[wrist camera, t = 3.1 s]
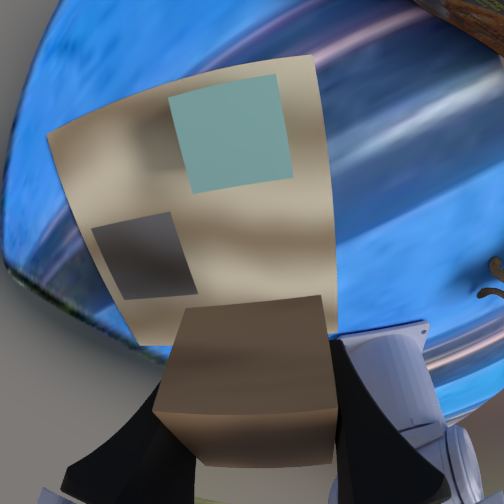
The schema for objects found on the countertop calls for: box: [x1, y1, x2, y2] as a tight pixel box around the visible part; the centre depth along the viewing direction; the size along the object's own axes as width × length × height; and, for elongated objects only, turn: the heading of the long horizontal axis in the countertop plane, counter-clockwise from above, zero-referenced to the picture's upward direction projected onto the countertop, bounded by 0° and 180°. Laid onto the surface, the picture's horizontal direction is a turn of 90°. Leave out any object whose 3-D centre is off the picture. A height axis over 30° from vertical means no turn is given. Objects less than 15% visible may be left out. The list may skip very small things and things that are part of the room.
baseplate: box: [46, 55, 338, 346], centre depth 18 cm, size 18×16×1 cm
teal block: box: [168, 74, 294, 194], centre depth 12 cm, size 4×4×4 cm
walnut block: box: [152, 295, 338, 468], centre depth 10 cm, size 5×5×4 cm
